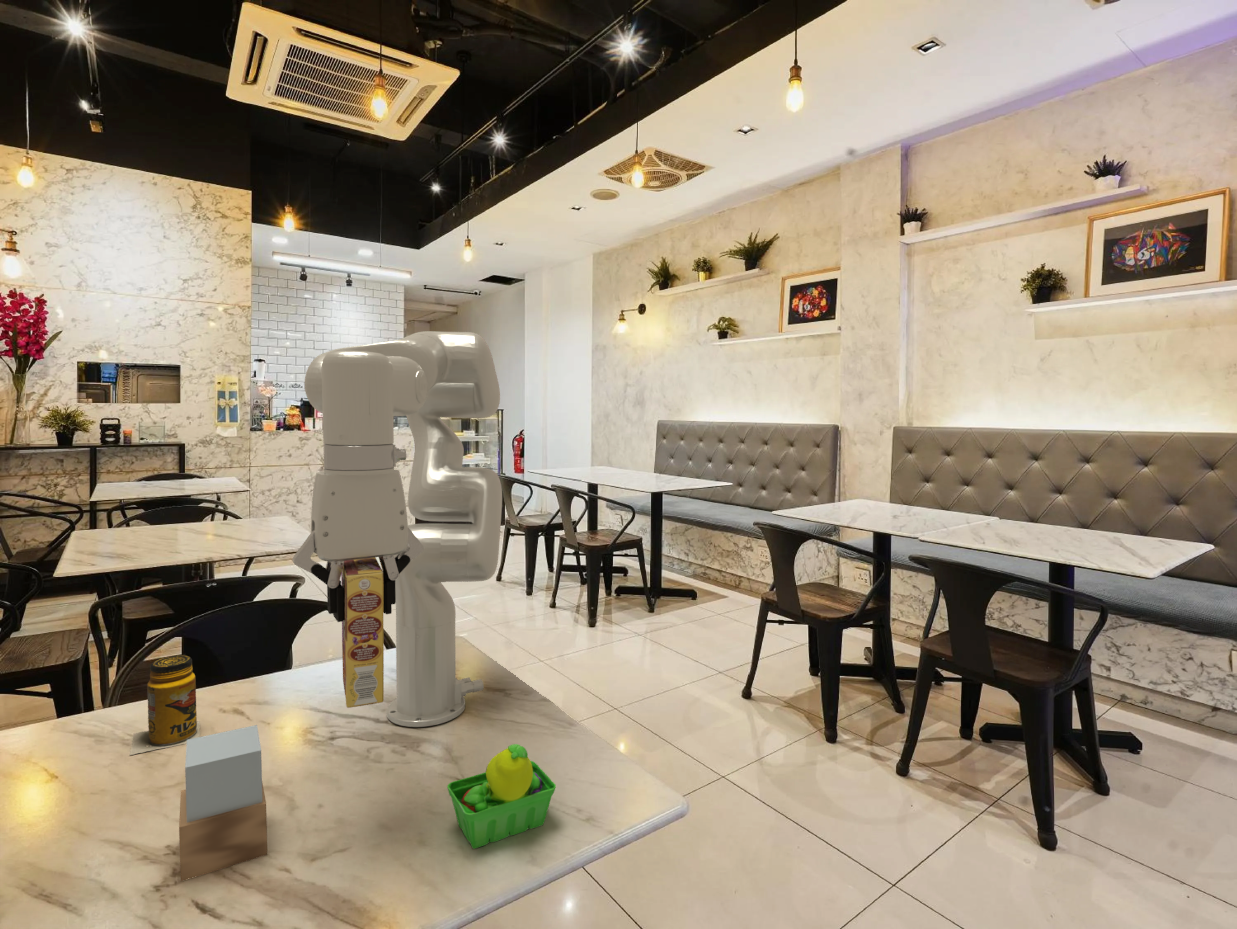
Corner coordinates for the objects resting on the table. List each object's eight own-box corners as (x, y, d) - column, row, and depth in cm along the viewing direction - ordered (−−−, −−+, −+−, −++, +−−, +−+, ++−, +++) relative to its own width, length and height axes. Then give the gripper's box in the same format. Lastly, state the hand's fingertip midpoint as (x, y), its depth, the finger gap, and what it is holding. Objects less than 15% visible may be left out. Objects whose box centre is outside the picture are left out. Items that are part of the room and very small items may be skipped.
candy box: (387, 702, 73) (384, 571, 72) (346, 710, 71) (342, 575, 70) (379, 673, 81) (376, 554, 80) (342, 679, 79) (338, 558, 78)
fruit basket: (531, 795, 84) (531, 711, 83) (563, 832, 76) (563, 740, 75) (445, 824, 77) (444, 733, 77) (470, 867, 70) (470, 767, 69)
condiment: (199, 741, 97) (197, 663, 96) (129, 756, 92) (126, 675, 91) (199, 722, 103) (197, 648, 102) (133, 735, 98) (131, 659, 97)
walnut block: (261, 818, 78) (260, 770, 78) (267, 855, 72) (266, 803, 71) (182, 840, 74) (180, 790, 74) (180, 882, 67) (179, 827, 67)
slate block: (258, 773, 77) (256, 724, 77) (262, 802, 71) (261, 750, 71) (188, 790, 74) (186, 739, 73) (186, 822, 68) (185, 767, 67)
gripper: (422, 456, 82) (424, 596, 83) (272, 460, 72) (277, 618, 74) (442, 460, 75) (443, 611, 77) (281, 465, 66) (286, 637, 67)
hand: (362, 613), depth 75 cm, fingers closed on candy box, 4 cm apart
